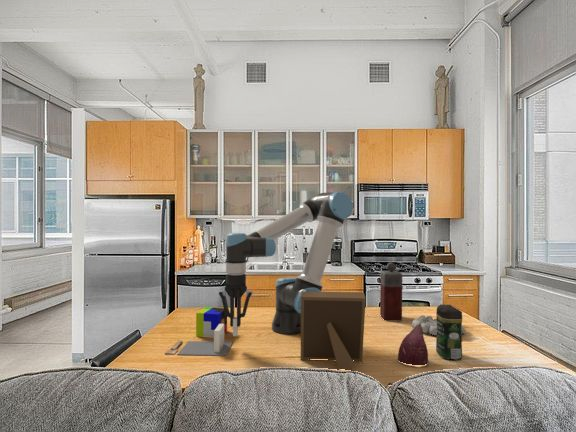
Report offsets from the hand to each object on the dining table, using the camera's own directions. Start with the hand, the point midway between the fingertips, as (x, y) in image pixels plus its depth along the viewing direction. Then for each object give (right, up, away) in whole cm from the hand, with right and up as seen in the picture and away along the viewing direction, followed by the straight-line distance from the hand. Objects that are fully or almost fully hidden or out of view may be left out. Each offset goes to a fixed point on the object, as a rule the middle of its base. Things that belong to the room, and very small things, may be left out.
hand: (235, 334), depth 142 cm
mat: (-11, -5, 0) cm, 12 cm away
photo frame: (+35, -6, -14) cm, 39 cm away
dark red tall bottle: (+72, -6, +45) cm, 85 cm away
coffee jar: (+80, -6, -5) cm, 80 cm away
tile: (-6, -5, 0) cm, 8 cm away
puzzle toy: (-13, -6, +18) cm, 23 cm away
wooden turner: (-23, -6, +1) cm, 24 cm away
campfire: (+87, -7, +24) cm, 91 cm away
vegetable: (+64, -6, -11) cm, 66 cm away
